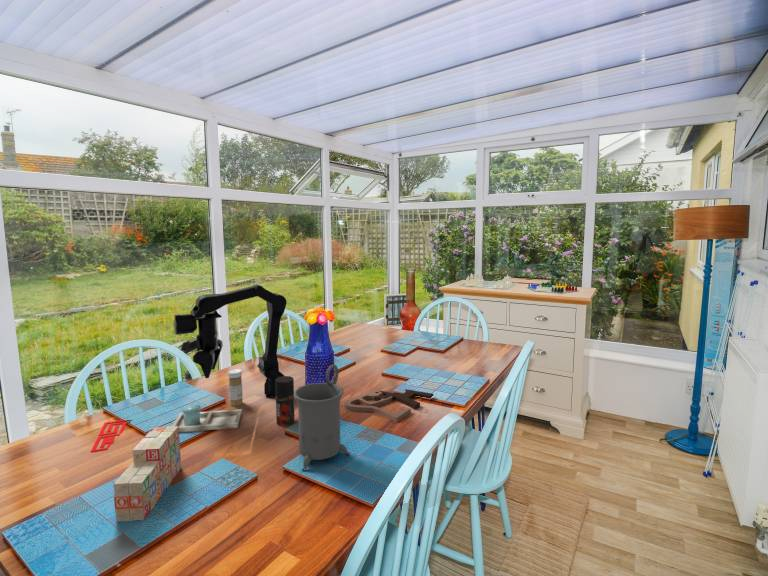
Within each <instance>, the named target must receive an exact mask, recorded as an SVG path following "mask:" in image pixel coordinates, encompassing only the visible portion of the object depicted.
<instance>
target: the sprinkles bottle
mask: <svg viewBox="0 0 768 576" xmlns="http://www.w3.org/2000/svg"><path fill="white" fill-rule="evenodd" d="M242 372H243V371H242V370H241V369H239V368H235V369H231V370H229V371H228V372H227V374H228V375H227V376H228V384H229V385H228V386H229V387H228V389H229V401H230V402H229V405H230V406H231V407H238V406H242V405H243V384H242V383H243V381H242V380H243V379H242V376H243V373H242Z"/></svg>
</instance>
